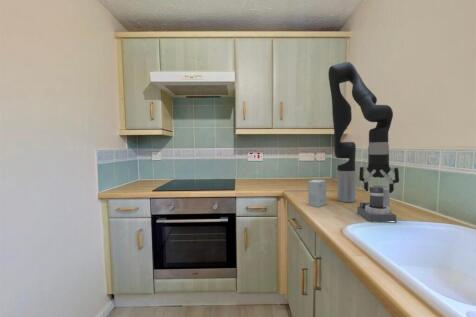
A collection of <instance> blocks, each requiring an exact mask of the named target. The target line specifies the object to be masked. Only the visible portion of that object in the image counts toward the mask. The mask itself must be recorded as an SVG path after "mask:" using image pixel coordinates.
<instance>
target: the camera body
mask: <svg viewBox="0 0 476 317" xmlns="http://www.w3.org/2000/svg"><path fill="white" fill-rule="evenodd" d="M356 209H357V210H356V211H357V212H356V213H357V214H358V215H359V216H361V217H362V218H363V219H365V220H366V221H367V222H369V221H396V222H397V214H395V213H393V212H392V211H391V207H388V206H384V209H382V208H380V209H376V208H371V207H370V201H369V202H367V201H366V200H362V201H360V202H359V205H357V206H356Z"/></svg>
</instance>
